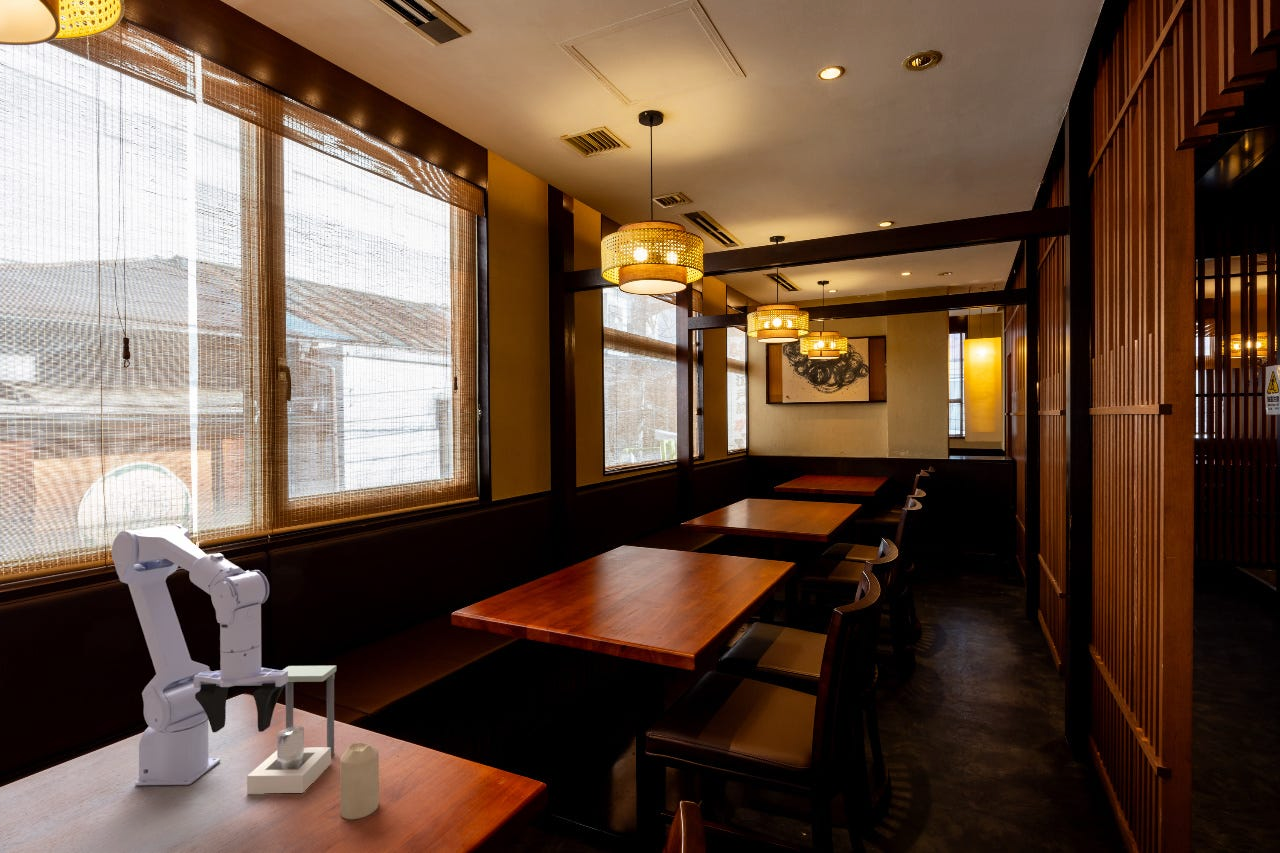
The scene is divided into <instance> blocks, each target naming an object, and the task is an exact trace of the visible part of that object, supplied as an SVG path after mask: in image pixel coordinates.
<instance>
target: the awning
mask: <svg viewBox="0 0 1280 853" xmlns="http://www.w3.org/2000/svg"><path fill="white" fill-rule="evenodd" d="M281 671H288V682H287V683H286V684H285V729H286V728H289V727H294V683H299V682H300V683H302V682H304V683H305V682H307V683H309V682H310V683H311V682H315V683H318V682H319V683H321V682H322V683H323V682H324V681H326V747H331V756H333V755H335V679H336V678H335V676H336V674H335V673H336V672H337V665H288V666H286V667H285V668H283V669H282V670H281Z"/></svg>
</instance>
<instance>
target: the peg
mask: <svg viewBox="0 0 1280 853" xmlns="http://www.w3.org/2000/svg"><path fill="white" fill-rule="evenodd" d="M276 737H277V738H276V739H277V740H276V744H277V745H276V746H277V749H276V751H277V770H298V769H299V768H300V767H301V766H302V765H303V764H304V748H305V728H304V727H302V726H293V727H289V728H286V727H285V728H284V729H281V730H280V731H278V733H277V734H276Z"/></svg>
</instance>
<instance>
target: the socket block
mask: <svg viewBox="0 0 1280 853" xmlns="http://www.w3.org/2000/svg"><path fill="white" fill-rule="evenodd" d="M331 764H332V755H331V747H327V746H325V747H323V746H322V747H321V746H317V747H314V746H313V747H312V746H311V747H310V746H309V747H304V764H303V765H302V766H301V767H300V768H299V769H298V770H277V750H275V751H274V752H273V753H272V754H271V755H270V756H268V757H266V759H265V760H264V761H263V762H261V763H260V764H259V765H258V766H257V767H256V768H254V769H253V770H252V771H251V772H250V773H248V774H247V776H246V794H247V795H265V794H264V793H303V792H304V791H305V790H306V789H307V788H308V787H309V786H310V785H311V784H312V783H313V784H314V782H316V780H317V779H318V778H319V777H321V775H322V774H324V772H325V771H326V770H327V769H328V768H329V767H330V766H331ZM328 766H329V767H328ZM324 770H325V771H324ZM313 784H312V785H313ZM312 785H311V786H312ZM309 788H310V787H309ZM309 788H308V789H309ZM308 789H307V790H308ZM307 790H306V791H307ZM306 791H305V792H306ZM305 792H304V793H305ZM304 793H303V794H304Z"/></svg>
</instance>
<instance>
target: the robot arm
mask: <svg viewBox="0 0 1280 853" xmlns="http://www.w3.org/2000/svg"><path fill="white" fill-rule="evenodd" d="M111 558H112V561H113V564H114V567H115V571H116V574H117V576H118V579H119V581H120V582H121V583H124V584H127V585H128V588H129V592H130V595H131V598H132V601H133V604H134V607H135V611H136V614H137V618H138V620H139V623H140V626H141V629H142V632H143V635H144V639H145V642H146V646H147V648H148V652H149V655H150V658H151V660H152V665H153V667H154V670H155V675H154V676H153V678H152V679H151V680H150V681H149V682H148V684H147V685H145V687H144V689H143V690H142V692H141V695H142V701H143V717H144V721H145V722H146V724H147V725H148V726H147V728H146V729H145V730H144V731H143V733H142V735H141V738H140V740H139V744H138V780H136V781H135V782H134V785H135V786H181V785H184V786H185V785H186V786H188V785H191V784H192V783H193V782H196V780H198V778H199V779H200V777H202V776H203V775H204V774H205V773H207V772H208V771H209V770H211V769H212V768H213V767H214V766H216V765H217V764H218V763H219V762H221V758H220V757H209V725H210V729H211V732H212V733H217V732H219V731H221V730H222V729H223V728H225V725H226V707H227V706H226V705H227V698H228V692H229V688H230V687H235V686H236V687H237V686H239V687H240V686H249V687H250V686H261V687H260V688H258V689H256V690H254V691H253V692H252V696H253V700H254V702H255V705H256V706H255V707H256V712H257V730H258V732H260V733H261V732H265V731H266V730H267V729H268V728H270V727H271V724H272V718H273V714H274V710H275V707H276V705H277V702H278V699H279V697H280V695H281V693H282V692H283V690H284V688H285V687H286V683H287V682H288V671H282V670H281V669H280V670H279V669H274V668H273V669H272V668H267V667H262V604H264V603H265V602H266V601H267V600H268V598H269V595H270V583H269V581H268V579H267V576H265V574H264V573H263V572H261V570H259V569H254V570H246V571H245V570H243V569H242V568H241V567H240V566H238V565H236V564H235V563H232V562H231V561H229V560H228V559H226V558H225V556H224V554H222V553H220V552H217V553H207V554H206V552H204V551H203V550H202V549H201V548H199V547H198V546H197V545H196V544H195V543H194V542H192V541H191V536H190V532H189V529H187V528H185V527H184V526H183V525H181V524H180V523H175V524H172V525H166V526H157V527H150V528H142V529H134V530H122V531H119V532H118V533H117V535H116V536H115V538H114V540H113V543H112V547H111ZM179 567H180V568H182V569H184V570H185V571H188V572H189V575H188V576H189V580H190V582H191V583H193V585H195V586H197V588H199V589H201V590H203V592H205V593H206V594H208V595H210V597H211V602H212V605H213V608H214V610H215V617H216V618H215V619H216V621H217V623H218V624H219V626H220V627H219V628H220V629H219V630H220V633H219V634H220V635H219V640H220V641H219V642H220V644H219V645H220V646H219V650H220V651H219V652H220V653H219V654H220V660H219V661H220V662H219V664H220V670H214V671H212V670H211V669H210V666H208V665H206V664H203V663H200V662H197V661H194V660H192V658H191V655H190V652H189V649H188V646H187V643H186V640H185V637H184V634H183V632H182V629H181V624H180V622H179V618H178V616H177V613H176V610H175V607H174V603H173V601H172V600H173V599H172V597H171V594H170V592H169V588H168V585H167V582H166V580H167V578H168V577H169V576H171V575H172V574H173V573H175V572H177V569H178V568H179Z"/></svg>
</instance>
